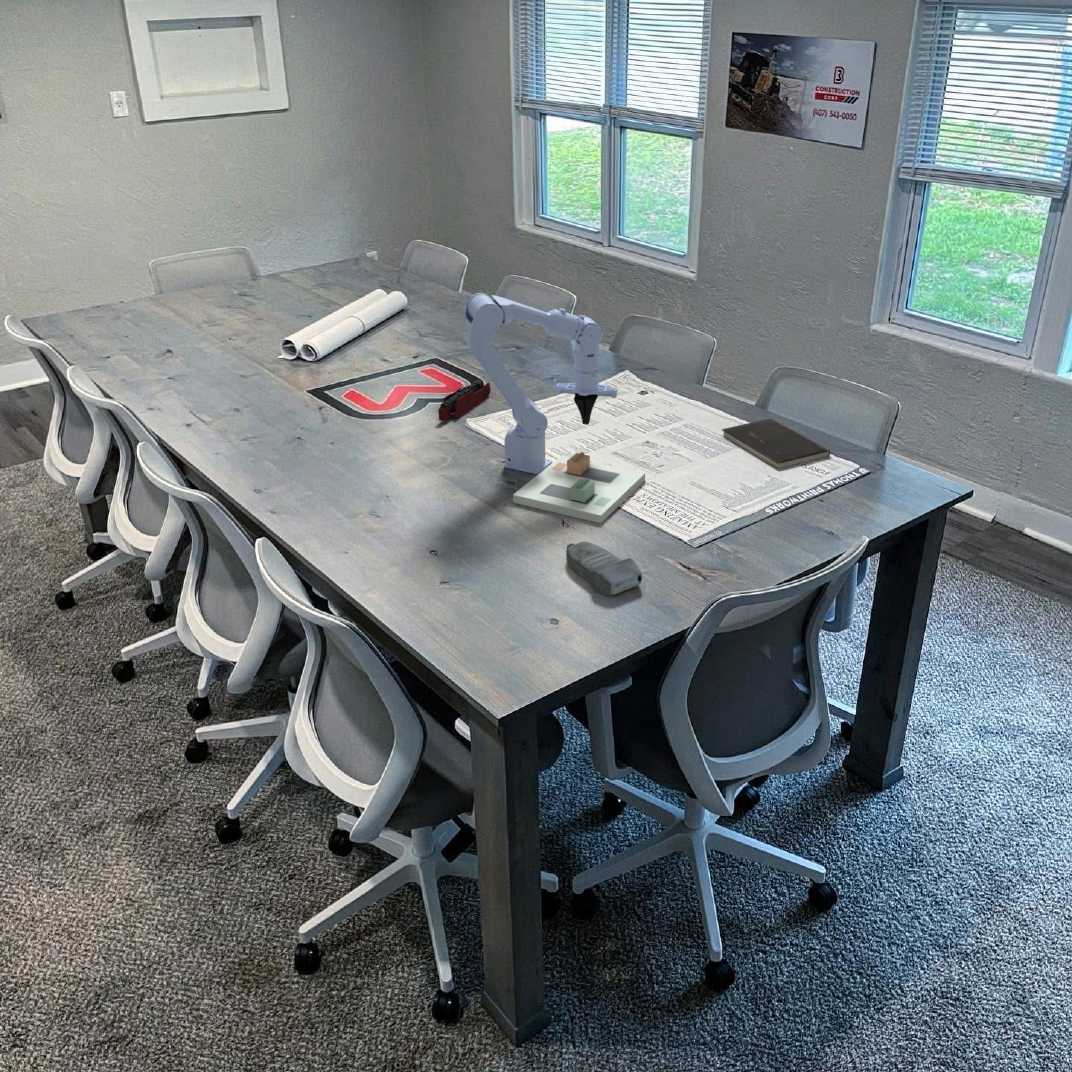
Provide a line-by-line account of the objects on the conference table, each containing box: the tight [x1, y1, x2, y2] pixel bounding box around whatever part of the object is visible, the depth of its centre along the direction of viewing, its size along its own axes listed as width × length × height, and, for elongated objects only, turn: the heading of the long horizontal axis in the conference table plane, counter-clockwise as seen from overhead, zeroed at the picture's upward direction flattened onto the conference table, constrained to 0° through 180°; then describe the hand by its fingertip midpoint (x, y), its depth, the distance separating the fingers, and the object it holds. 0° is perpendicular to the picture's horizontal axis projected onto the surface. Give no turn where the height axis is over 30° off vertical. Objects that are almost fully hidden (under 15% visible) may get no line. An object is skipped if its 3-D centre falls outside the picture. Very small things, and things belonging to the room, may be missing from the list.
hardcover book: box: [721, 418, 831, 469], centre depth 264 cm, size 16×23×2 cm
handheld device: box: [565, 541, 643, 596], centre depth 211 cm, size 10×20×5 cm, turn 34°
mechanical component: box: [437, 378, 492, 422], centre depth 288 cm, size 23×4×6 cm, turn 153°
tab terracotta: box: [567, 451, 591, 475], centre depth 248 cm, size 4×5×4 cm
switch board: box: [512, 454, 646, 524], centre depth 243 cm, size 22×24×2 cm
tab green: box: [571, 478, 595, 503], centre depth 235 cm, size 4×5×4 cm
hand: (586, 422), depth 255 cm, fingers closed
